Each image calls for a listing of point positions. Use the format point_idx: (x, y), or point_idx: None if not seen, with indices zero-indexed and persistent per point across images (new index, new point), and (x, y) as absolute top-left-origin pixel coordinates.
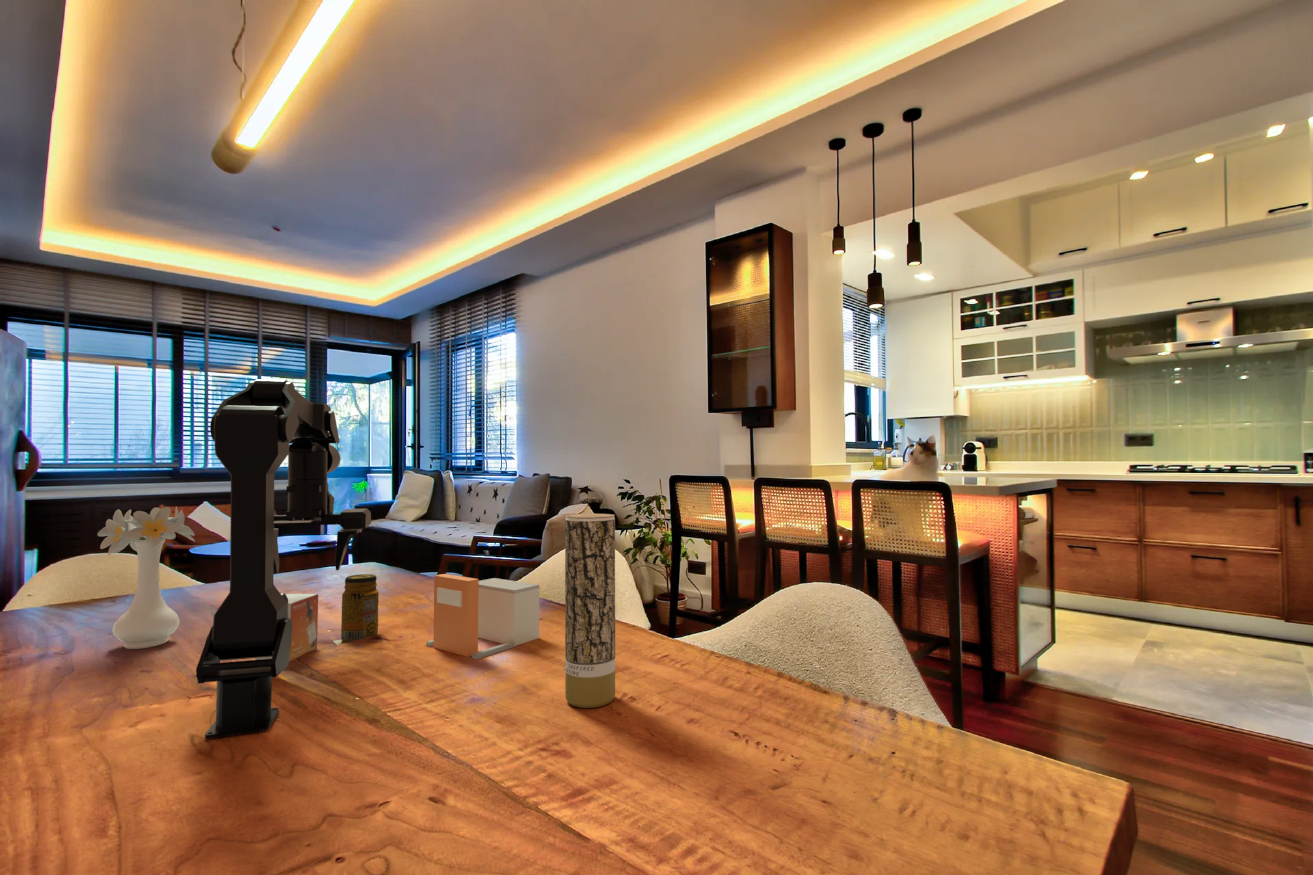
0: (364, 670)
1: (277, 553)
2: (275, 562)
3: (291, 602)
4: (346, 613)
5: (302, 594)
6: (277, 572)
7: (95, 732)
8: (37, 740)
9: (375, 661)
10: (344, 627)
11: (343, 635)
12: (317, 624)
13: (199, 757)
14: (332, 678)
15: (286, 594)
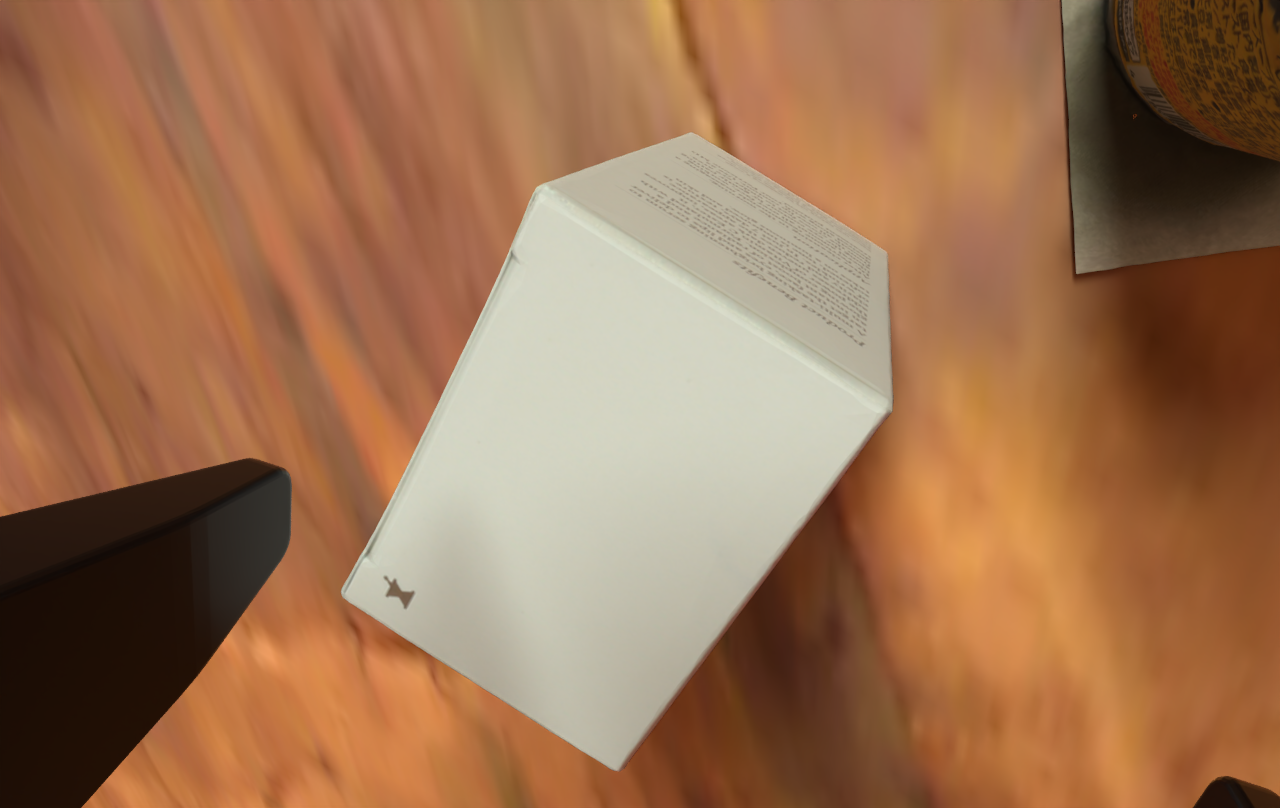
0: (1109, 730)
1: (5, 660)
2: (159, 717)
3: (620, 733)
4: (1222, 107)
5: (711, 359)
6: (288, 527)
7: (192, 794)
8: None
9: (1221, 607)
10: (1161, 75)
11: (1134, 65)
12: (889, 307)
13: None
14: (925, 752)
15: (533, 226)
